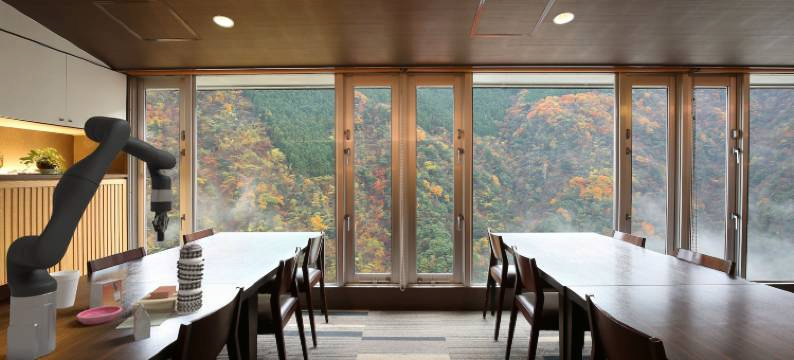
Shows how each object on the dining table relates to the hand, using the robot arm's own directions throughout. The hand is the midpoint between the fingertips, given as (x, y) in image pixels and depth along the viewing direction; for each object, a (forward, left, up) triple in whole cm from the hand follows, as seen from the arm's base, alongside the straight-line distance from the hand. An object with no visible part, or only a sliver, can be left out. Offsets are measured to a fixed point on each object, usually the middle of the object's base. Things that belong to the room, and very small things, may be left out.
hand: (160, 241), depth 150 cm
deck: (-12, -5, -24) cm, 28 cm away
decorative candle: (-19, -16, -24) cm, 35 cm away
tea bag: (-40, -9, -25) cm, 48 cm away
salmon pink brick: (-9, -5, -20) cm, 23 cm away
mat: (-26, -5, -24) cm, 36 cm away
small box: (-8, +15, -25) cm, 30 cm away
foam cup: (-2, +32, -24) cm, 41 cm away
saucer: (-21, +11, -25) cm, 34 cm away
